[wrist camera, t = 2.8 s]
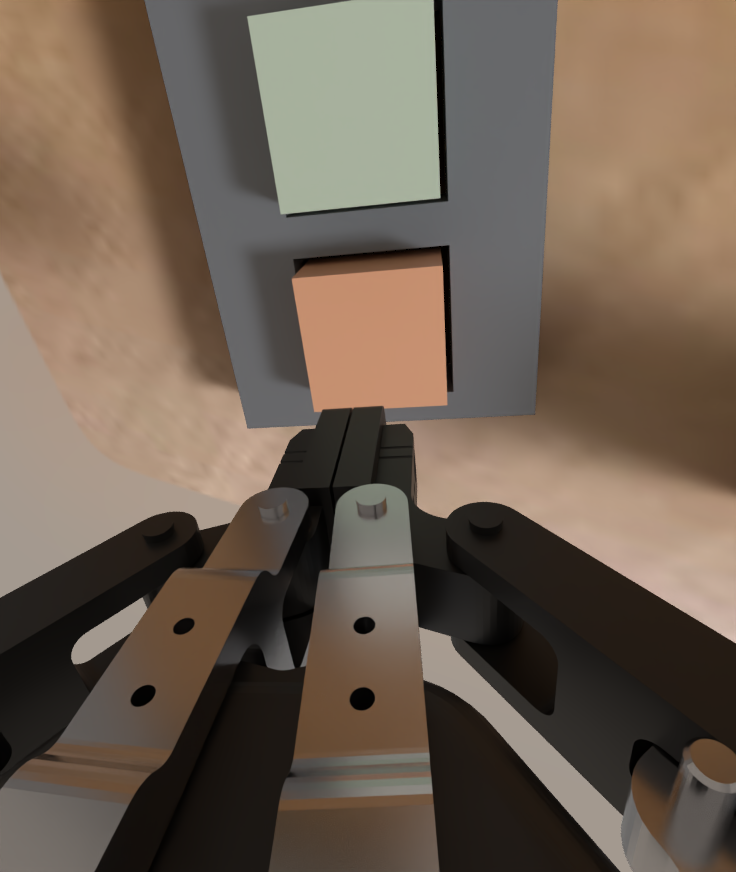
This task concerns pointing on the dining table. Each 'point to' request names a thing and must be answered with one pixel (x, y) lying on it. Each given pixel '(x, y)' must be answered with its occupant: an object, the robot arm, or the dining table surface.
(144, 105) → the dining table surface
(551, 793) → the robot arm
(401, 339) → the terracotta button
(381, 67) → the sage button
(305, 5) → the button panel
